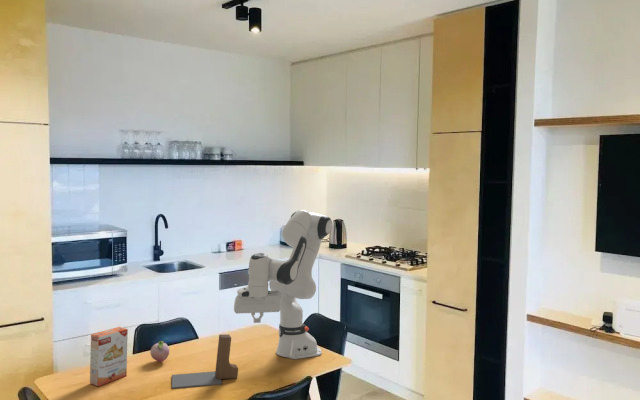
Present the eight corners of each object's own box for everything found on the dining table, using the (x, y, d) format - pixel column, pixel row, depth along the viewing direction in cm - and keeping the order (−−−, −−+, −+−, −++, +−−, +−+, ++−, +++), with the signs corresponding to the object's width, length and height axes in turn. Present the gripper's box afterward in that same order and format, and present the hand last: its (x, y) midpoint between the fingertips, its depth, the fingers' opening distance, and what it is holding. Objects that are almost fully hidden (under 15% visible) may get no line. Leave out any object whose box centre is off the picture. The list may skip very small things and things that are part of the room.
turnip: (149, 359, 237) (149, 338, 236) (167, 357, 240) (167, 336, 239) (151, 367, 228) (151, 345, 227) (170, 364, 231) (170, 343, 231)
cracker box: (98, 387, 205) (98, 336, 204) (89, 383, 209) (89, 334, 207) (127, 376, 217) (128, 328, 216) (118, 372, 220) (119, 325, 219)
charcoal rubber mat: (218, 372, 224) (219, 371, 224) (221, 384, 212) (221, 383, 212) (172, 376, 219) (172, 374, 219) (171, 388, 206) (172, 387, 206)
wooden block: (235, 374, 222) (239, 334, 222) (237, 378, 218) (241, 337, 218) (214, 375, 219) (219, 334, 218) (216, 379, 215) (221, 337, 214)
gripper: (279, 288, 226) (278, 319, 227) (233, 290, 220) (233, 321, 221) (282, 292, 220) (281, 323, 221) (235, 293, 214) (234, 325, 215)
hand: (257, 322), depth 221 cm, fingers closed
